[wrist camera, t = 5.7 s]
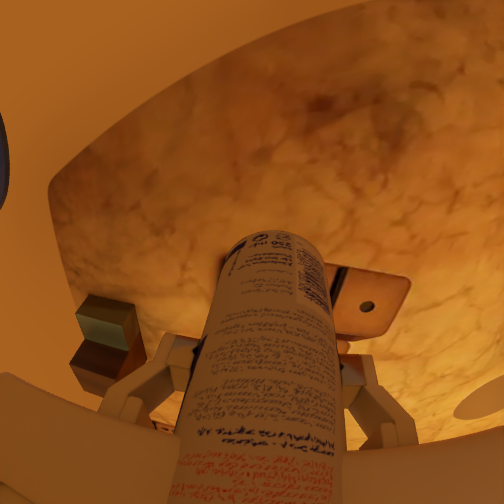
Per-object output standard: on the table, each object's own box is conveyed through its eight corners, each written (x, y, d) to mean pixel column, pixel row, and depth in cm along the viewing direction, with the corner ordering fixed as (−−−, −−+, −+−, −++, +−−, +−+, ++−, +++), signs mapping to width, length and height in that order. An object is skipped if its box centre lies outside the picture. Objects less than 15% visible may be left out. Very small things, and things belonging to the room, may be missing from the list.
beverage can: (205, 253, 17) (100, 543, 4) (295, 207, 15) (290, 594, 2) (257, 319, 19) (222, 567, 6) (339, 286, 17) (368, 569, 4)
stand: (89, 294, 46) (56, 338, 36) (134, 304, 45) (104, 355, 36) (106, 348, 53) (83, 390, 44) (147, 359, 53) (127, 405, 43)
